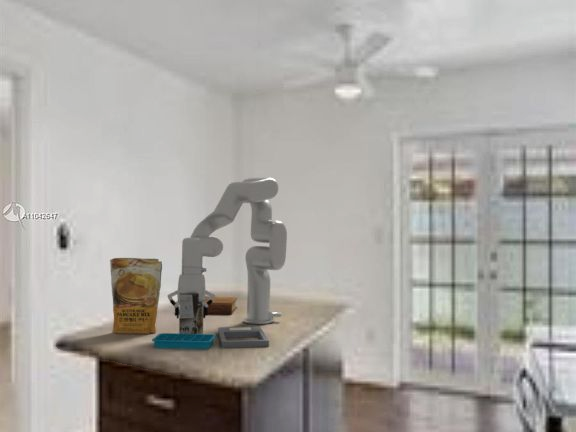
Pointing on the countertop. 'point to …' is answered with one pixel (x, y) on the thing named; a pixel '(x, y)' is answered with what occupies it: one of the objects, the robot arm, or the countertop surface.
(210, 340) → the ice cube tray
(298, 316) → the countertop surface
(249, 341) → the grey plastic frame
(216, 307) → the diary
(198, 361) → the countertop surface
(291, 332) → the countertop surface
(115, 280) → the pancake mix bag
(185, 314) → the coffee box
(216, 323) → the countertop surface
